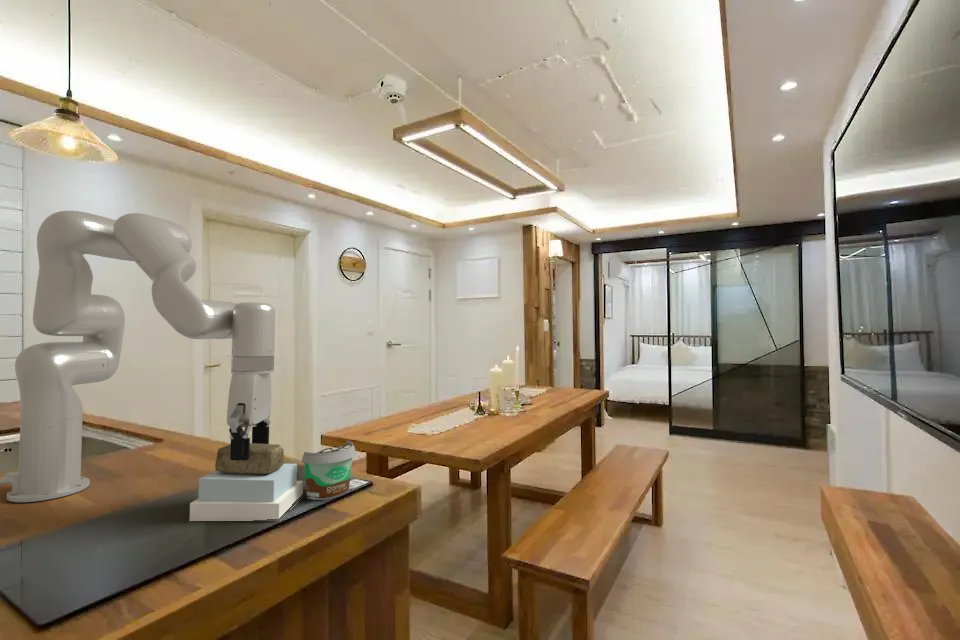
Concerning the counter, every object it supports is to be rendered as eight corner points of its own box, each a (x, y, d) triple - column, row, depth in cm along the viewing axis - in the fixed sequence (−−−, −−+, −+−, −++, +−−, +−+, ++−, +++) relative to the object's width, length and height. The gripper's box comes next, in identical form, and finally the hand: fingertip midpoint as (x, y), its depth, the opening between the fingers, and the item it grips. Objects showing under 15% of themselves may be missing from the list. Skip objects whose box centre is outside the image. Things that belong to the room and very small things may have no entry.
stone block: (270, 476, 84) (271, 450, 84) (211, 475, 84) (212, 448, 84) (285, 467, 89) (286, 442, 89) (230, 465, 90) (230, 441, 90)
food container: (320, 508, 87) (321, 457, 87) (300, 501, 91) (301, 452, 91) (367, 489, 98) (367, 443, 98) (347, 484, 101) (348, 439, 101)
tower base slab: (189, 525, 80) (190, 503, 81) (225, 499, 92) (225, 480, 93) (278, 525, 81) (279, 503, 81) (302, 500, 93) (303, 480, 93)
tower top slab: (198, 500, 82) (198, 478, 82) (229, 481, 92) (230, 462, 92) (273, 502, 82) (274, 480, 82) (296, 483, 92) (297, 463, 92)
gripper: (251, 361, 95) (248, 441, 95) (211, 369, 78) (208, 466, 78) (287, 362, 96) (285, 441, 96) (255, 369, 79) (252, 465, 79)
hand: (250, 452), depth 87 cm, fingers open, 9 cm apart
